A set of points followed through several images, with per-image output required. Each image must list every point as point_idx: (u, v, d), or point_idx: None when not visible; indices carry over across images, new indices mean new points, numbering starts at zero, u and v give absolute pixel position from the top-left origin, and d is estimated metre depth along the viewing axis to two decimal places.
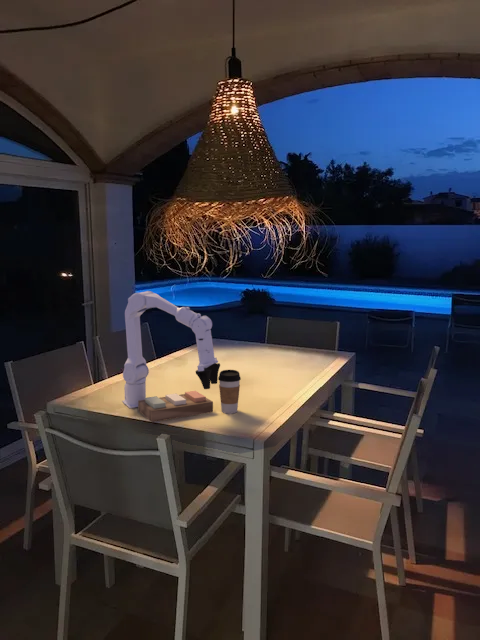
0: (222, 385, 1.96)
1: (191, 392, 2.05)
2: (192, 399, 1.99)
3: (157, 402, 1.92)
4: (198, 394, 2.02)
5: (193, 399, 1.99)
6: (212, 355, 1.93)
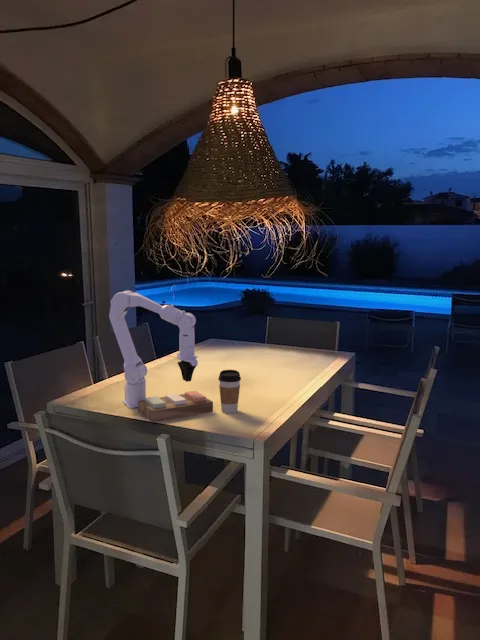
0: (222, 385, 1.96)
1: (191, 392, 2.05)
2: (192, 399, 1.99)
3: (157, 402, 1.92)
4: (198, 394, 2.02)
5: (193, 399, 1.99)
6: None
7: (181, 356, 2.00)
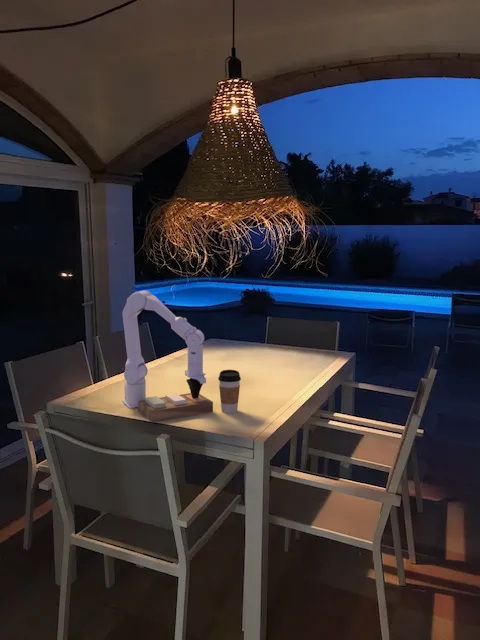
0: (222, 385, 1.96)
1: (191, 395, 2.05)
2: None
3: (157, 402, 1.92)
4: (198, 397, 2.02)
5: None
6: None
7: (189, 373, 1.99)
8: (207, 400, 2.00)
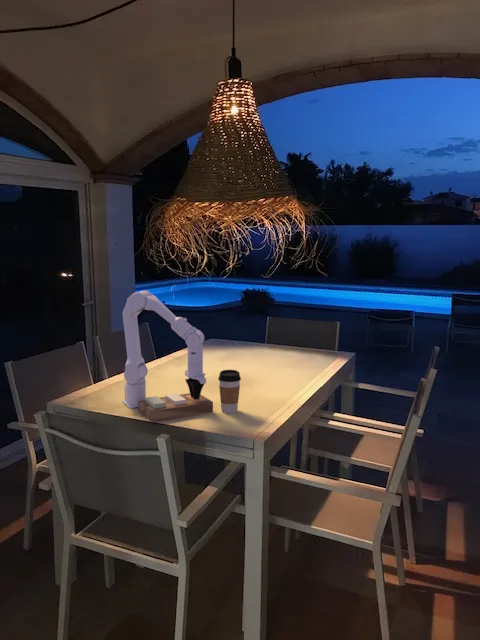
0: (222, 385, 1.96)
1: None
2: None
3: (157, 402, 1.92)
4: None
5: None
6: None
7: (189, 374, 1.99)
8: (207, 400, 2.00)
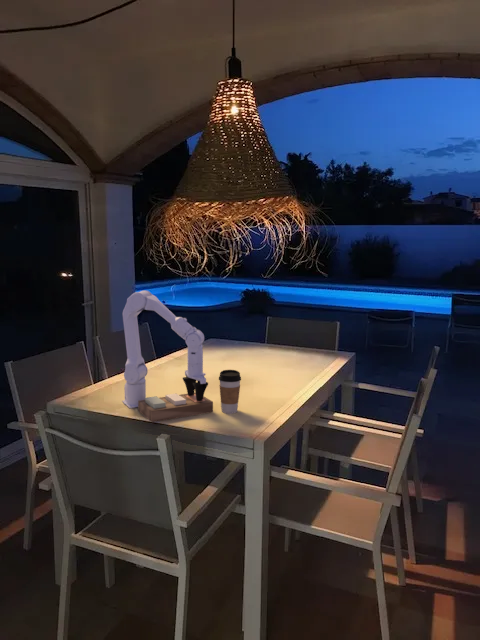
0: (222, 385, 1.96)
1: (191, 396, 2.05)
2: None
3: (157, 402, 1.92)
4: None
5: None
6: None
7: (189, 374, 1.99)
8: (207, 400, 2.00)
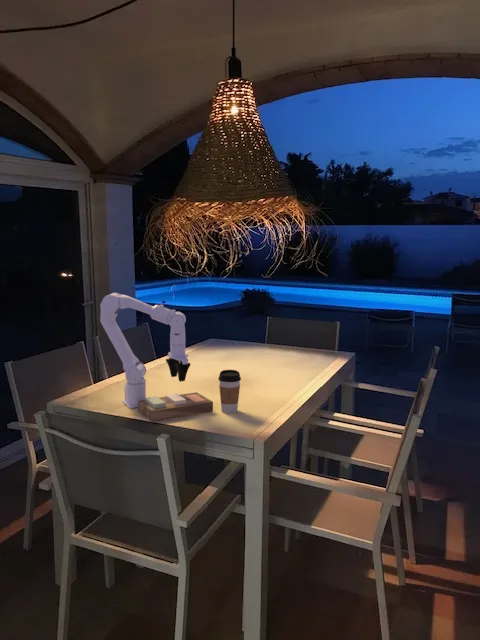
0: (222, 385, 1.96)
1: (191, 396, 2.05)
2: None
3: (157, 402, 1.92)
4: (198, 398, 2.02)
5: None
6: None
7: (172, 354, 2.02)
8: (207, 400, 2.00)
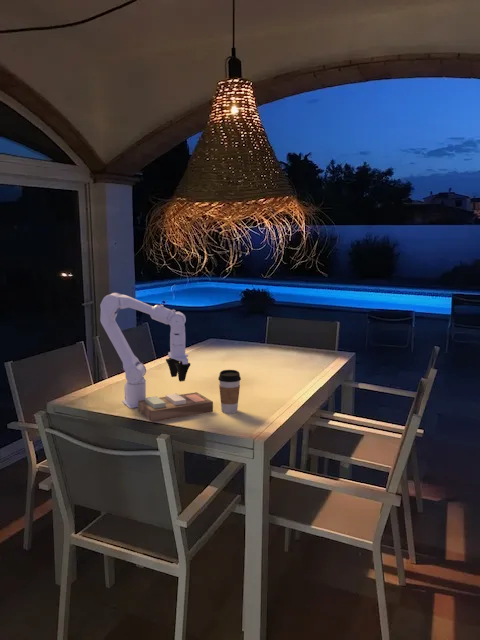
0: (222, 385, 1.96)
1: (191, 396, 2.05)
2: None
3: (157, 402, 1.92)
4: (198, 398, 2.02)
5: None
6: None
7: (172, 354, 2.02)
8: (207, 400, 2.00)
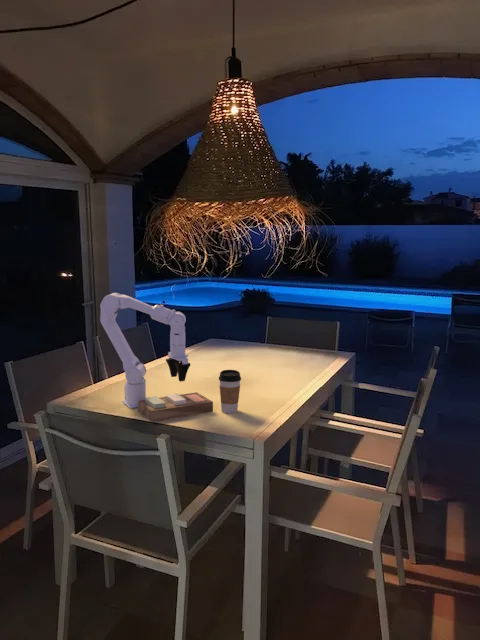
0: (222, 385, 1.96)
1: (191, 396, 2.05)
2: None
3: (157, 402, 1.92)
4: (198, 398, 2.02)
5: None
6: None
7: (172, 354, 2.02)
8: (207, 400, 2.00)
